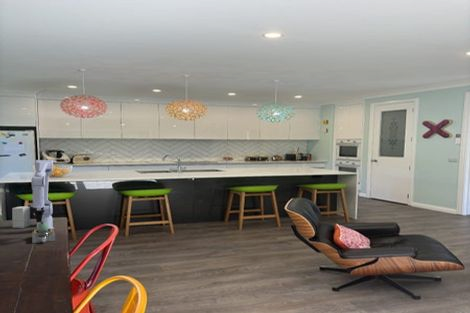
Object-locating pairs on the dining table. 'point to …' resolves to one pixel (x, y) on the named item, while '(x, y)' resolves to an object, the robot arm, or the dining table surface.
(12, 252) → the dining table surface
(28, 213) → the supplement box
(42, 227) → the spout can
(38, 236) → the gearbox
